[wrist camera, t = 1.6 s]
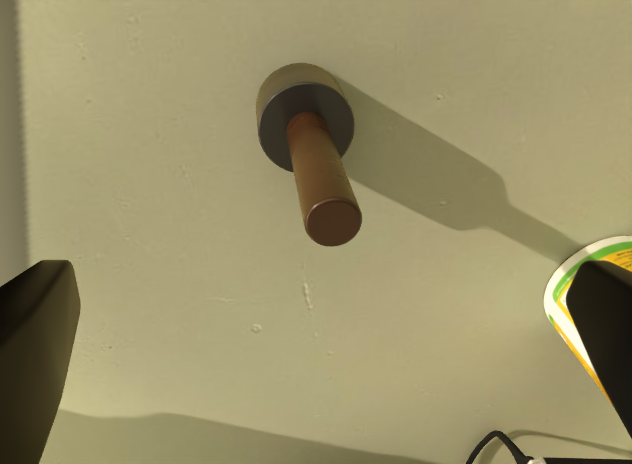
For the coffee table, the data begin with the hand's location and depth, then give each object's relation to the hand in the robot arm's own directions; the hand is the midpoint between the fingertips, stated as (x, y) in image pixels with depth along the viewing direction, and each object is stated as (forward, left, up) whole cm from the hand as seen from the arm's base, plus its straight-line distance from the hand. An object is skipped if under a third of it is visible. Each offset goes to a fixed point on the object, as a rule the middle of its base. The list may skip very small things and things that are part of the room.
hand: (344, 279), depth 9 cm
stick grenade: (0, 0, -9) cm, 9 cm away
